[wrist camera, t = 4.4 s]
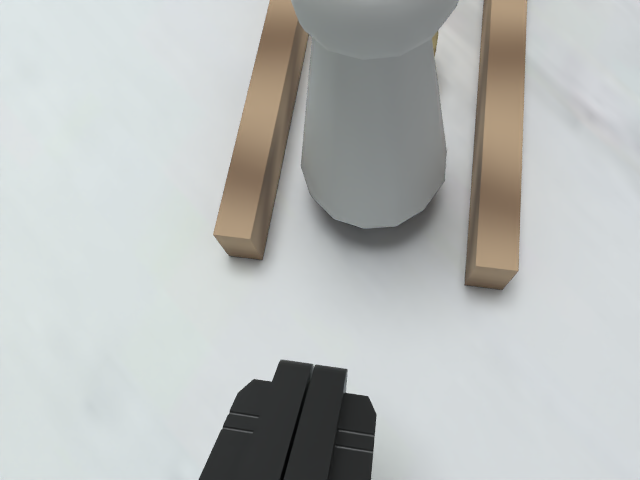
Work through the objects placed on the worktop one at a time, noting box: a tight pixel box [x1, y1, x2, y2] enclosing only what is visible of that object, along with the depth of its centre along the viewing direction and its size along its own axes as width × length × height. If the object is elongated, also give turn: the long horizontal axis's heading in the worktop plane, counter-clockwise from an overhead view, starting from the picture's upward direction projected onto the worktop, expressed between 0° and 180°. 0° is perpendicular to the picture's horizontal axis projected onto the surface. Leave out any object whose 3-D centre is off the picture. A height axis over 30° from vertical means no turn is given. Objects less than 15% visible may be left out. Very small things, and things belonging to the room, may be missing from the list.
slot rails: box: [213, 0, 527, 290], centre depth 24 cm, size 18×12×2 cm, turn 171°
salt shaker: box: [291, 0, 458, 229], centre depth 18 cm, size 6×6×13 cm
